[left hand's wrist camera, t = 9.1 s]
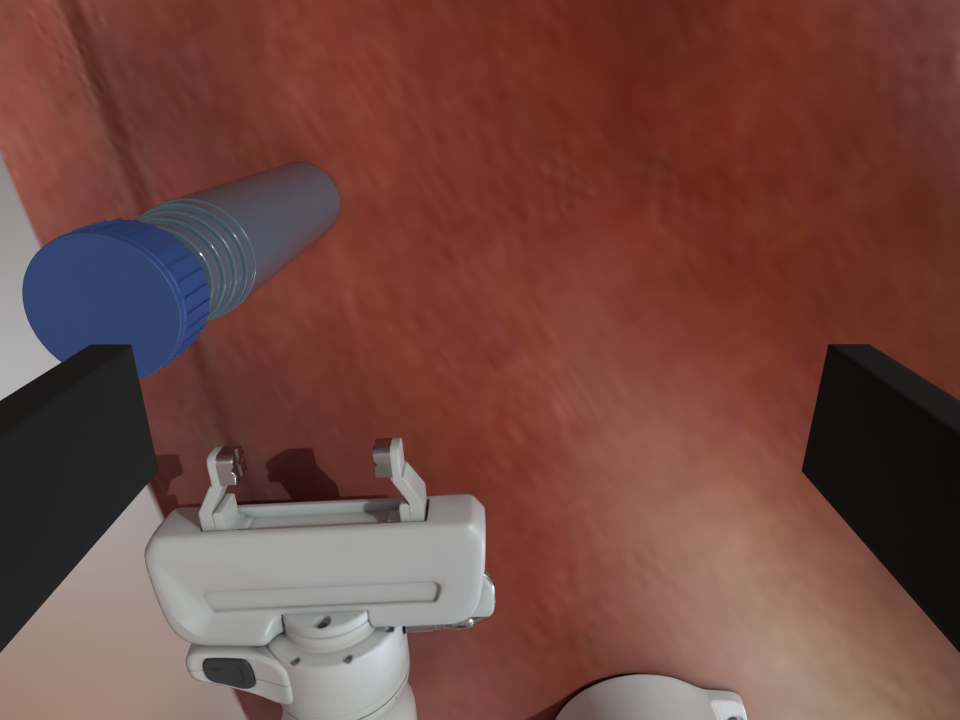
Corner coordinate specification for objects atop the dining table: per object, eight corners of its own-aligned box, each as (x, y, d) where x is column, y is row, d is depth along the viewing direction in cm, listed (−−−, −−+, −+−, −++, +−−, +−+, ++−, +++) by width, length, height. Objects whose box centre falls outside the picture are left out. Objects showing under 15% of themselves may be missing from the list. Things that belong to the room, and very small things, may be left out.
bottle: (298, 145, 38) (89, 192, 17) (355, 203, 39) (221, 310, 19) (248, 199, 39) (-4, 302, 19) (305, 254, 40) (127, 407, 20)
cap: (124, 185, 19) (81, 195, 17) (242, 293, 20) (215, 314, 18) (37, 285, 20) (-12, 306, 18) (154, 382, 21) (120, 412, 19)
